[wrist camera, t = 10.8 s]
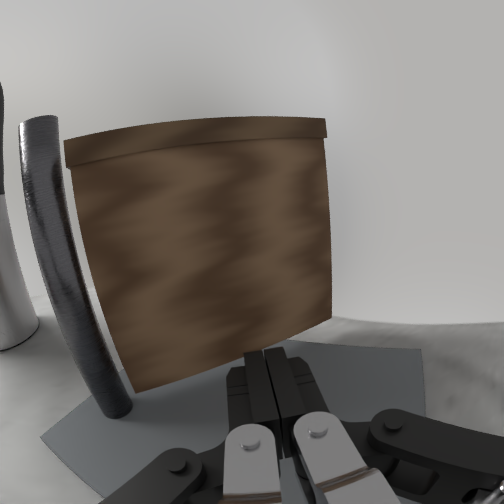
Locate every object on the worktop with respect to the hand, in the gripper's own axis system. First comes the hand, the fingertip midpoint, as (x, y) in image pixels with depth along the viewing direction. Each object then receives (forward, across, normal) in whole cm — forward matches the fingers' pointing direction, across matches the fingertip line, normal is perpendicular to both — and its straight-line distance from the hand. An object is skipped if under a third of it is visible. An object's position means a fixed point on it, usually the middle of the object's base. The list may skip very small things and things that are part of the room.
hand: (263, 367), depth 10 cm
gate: (+9, +1, +5) cm, 10 cm away
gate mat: (+3, +2, +7) cm, 8 cm away
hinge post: (+5, +10, +7) cm, 13 cm away
